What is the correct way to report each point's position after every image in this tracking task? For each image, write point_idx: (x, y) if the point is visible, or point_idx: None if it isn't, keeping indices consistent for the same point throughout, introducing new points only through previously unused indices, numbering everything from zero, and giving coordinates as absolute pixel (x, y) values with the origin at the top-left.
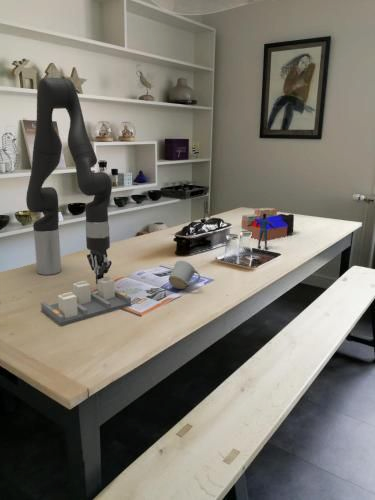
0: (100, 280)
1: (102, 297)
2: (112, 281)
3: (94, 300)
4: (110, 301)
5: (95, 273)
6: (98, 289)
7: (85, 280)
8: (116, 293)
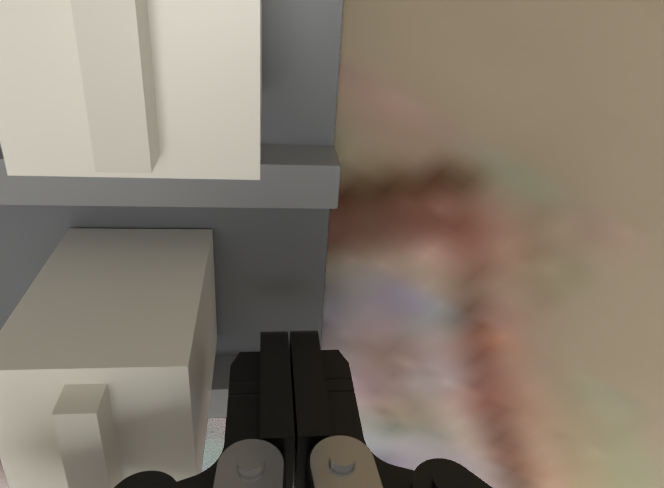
0: (121, 383)
1: (103, 238)
2: (11, 478)
3: None
4: (5, 261)
5: (328, 441)
6: (187, 278)
7: (144, 172)
8: None
